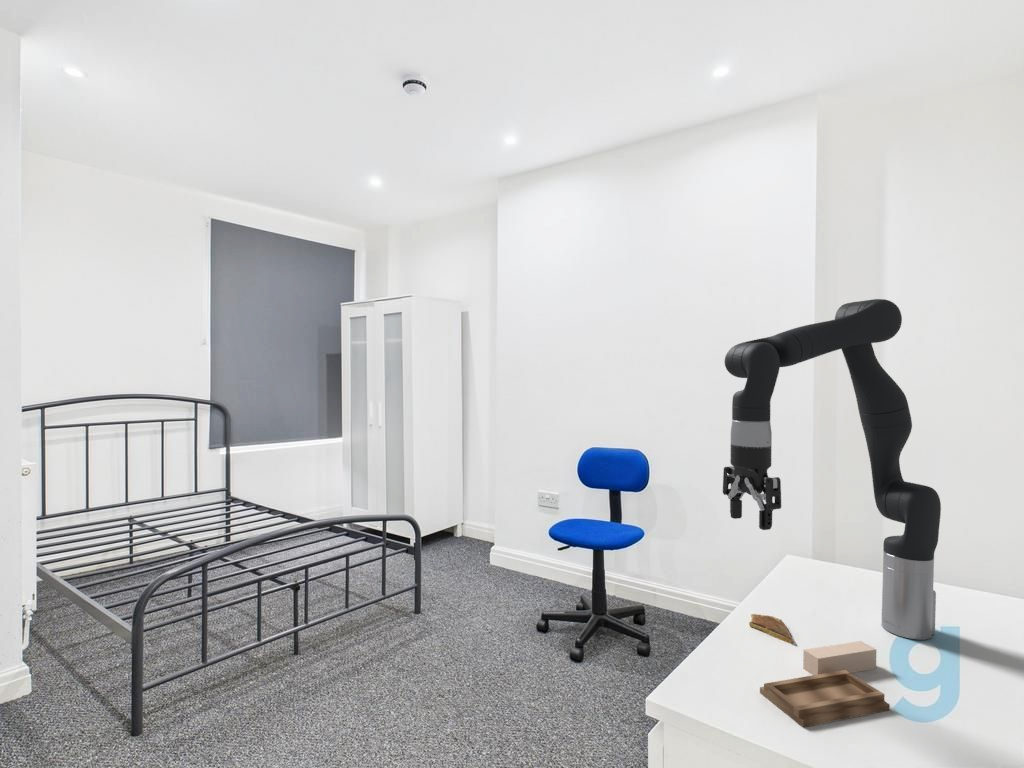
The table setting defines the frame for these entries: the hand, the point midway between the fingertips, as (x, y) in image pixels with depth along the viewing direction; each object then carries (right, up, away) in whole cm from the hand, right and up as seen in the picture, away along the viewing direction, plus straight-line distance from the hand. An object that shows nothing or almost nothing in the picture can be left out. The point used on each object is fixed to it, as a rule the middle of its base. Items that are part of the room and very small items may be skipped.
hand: (750, 523), depth 111 cm
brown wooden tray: (+7, -28, -14) cm, 32 cm away
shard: (+11, -28, +13) cm, 33 cm away
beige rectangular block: (+16, -28, -3) cm, 32 cm away
